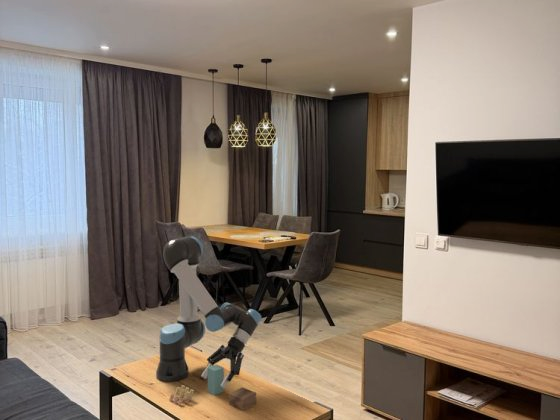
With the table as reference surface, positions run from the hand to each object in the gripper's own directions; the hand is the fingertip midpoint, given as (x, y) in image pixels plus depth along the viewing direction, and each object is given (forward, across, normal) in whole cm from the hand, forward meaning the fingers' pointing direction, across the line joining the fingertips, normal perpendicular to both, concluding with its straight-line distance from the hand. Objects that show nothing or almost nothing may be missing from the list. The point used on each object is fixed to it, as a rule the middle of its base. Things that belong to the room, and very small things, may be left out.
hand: (212, 382), depth 215 cm
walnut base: (+2, -17, -6) cm, 18 cm away
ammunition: (+13, +4, +6) cm, 15 cm away
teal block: (+2, 0, -5) cm, 5 cm away
